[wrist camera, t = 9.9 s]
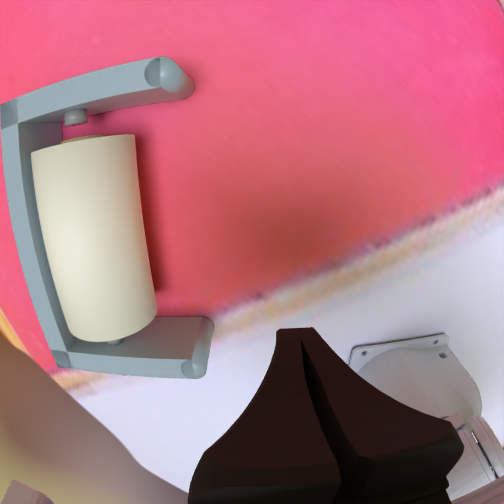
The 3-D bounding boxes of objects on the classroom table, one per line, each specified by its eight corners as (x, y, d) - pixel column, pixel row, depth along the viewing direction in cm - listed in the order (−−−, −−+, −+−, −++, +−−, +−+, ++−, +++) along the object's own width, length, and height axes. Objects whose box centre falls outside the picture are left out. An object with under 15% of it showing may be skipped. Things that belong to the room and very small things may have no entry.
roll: (42, 139, 11) (155, 125, 16) (22, 152, 15) (107, 137, 19) (91, 359, 15) (177, 315, 20) (57, 318, 19) (128, 288, 23)
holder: (194, 74, 17) (176, 54, 12) (214, 334, 23) (207, 378, 18) (8, 119, 17) (-35, 122, 12) (49, 328, 23) (21, 360, 19)
